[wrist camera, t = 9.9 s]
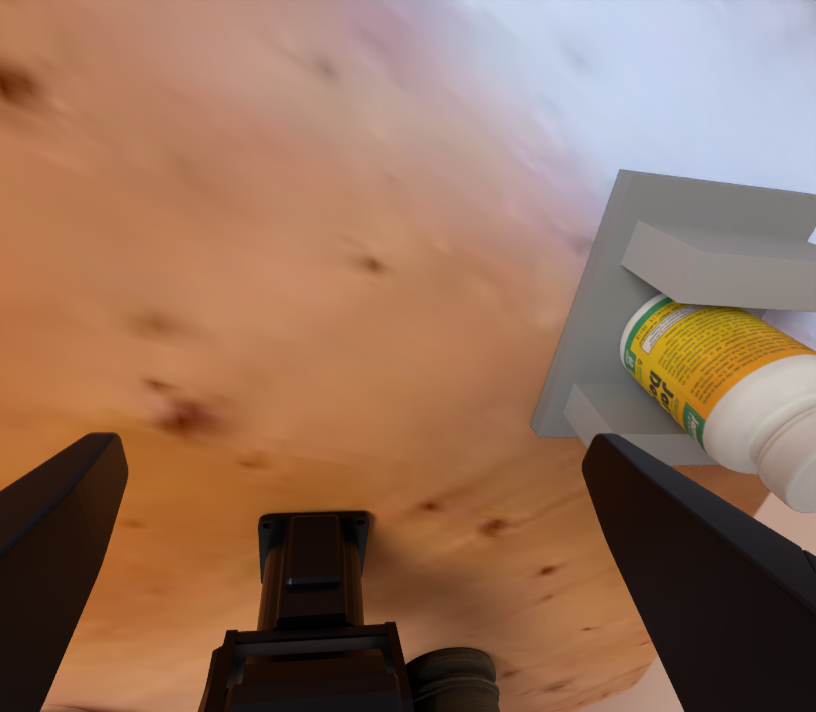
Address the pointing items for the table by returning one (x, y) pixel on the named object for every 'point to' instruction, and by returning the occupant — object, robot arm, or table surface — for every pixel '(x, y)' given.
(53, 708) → the bowl
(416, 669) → the container
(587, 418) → the holder
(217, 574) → the table surface
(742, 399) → the supplement bottle
